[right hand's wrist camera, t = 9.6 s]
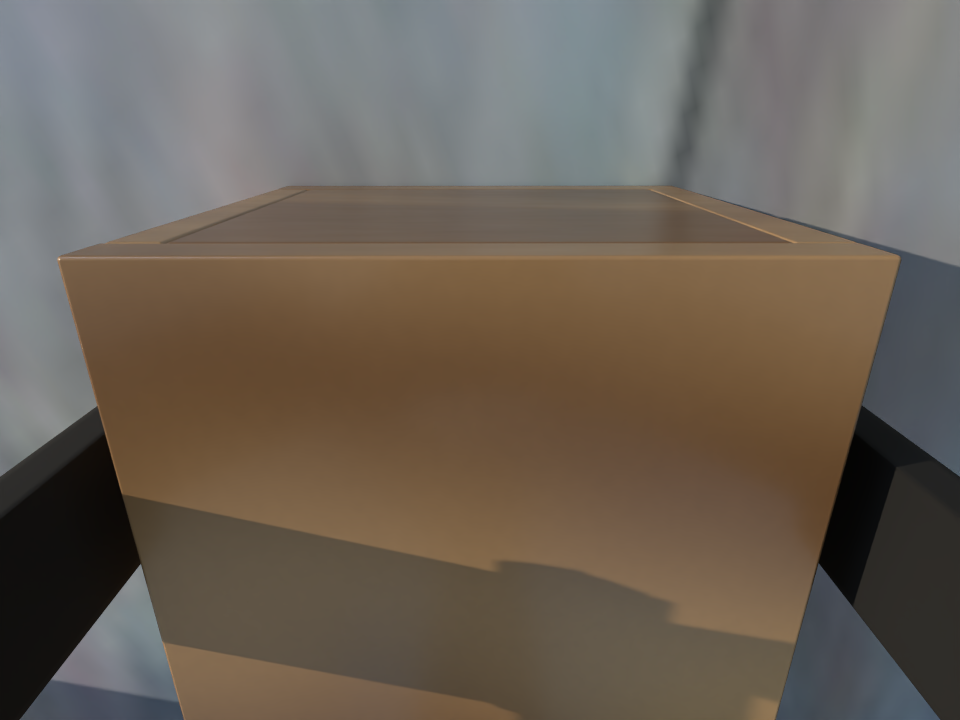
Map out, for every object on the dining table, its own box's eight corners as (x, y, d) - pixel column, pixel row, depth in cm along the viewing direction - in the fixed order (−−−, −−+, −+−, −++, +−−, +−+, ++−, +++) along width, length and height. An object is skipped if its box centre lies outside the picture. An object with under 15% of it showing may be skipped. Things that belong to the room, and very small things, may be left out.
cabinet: (611, 706, 23) (687, 1044, 15) (348, 706, 23) (272, 1044, 15) (673, 185, 16) (904, 256, 7) (285, 185, 16) (53, 256, 7)
